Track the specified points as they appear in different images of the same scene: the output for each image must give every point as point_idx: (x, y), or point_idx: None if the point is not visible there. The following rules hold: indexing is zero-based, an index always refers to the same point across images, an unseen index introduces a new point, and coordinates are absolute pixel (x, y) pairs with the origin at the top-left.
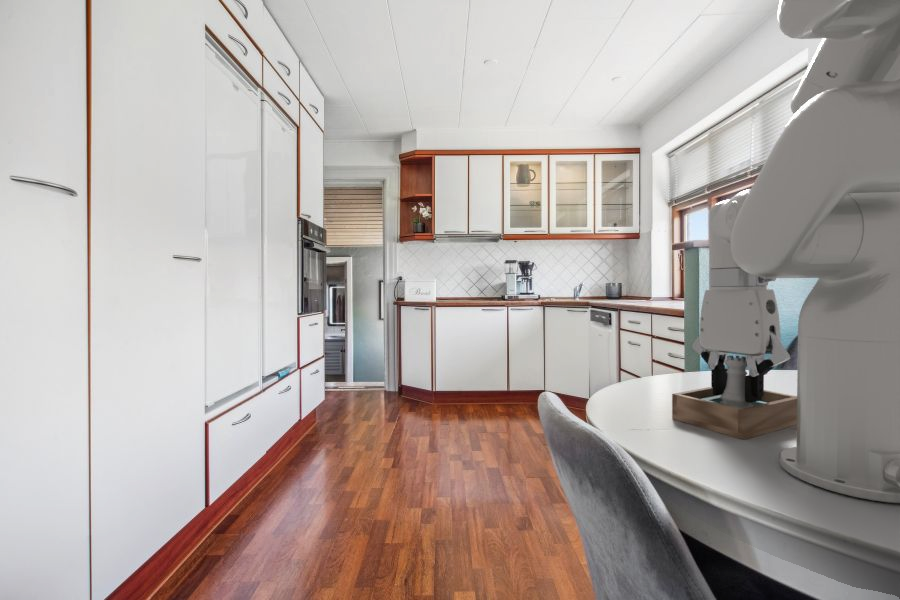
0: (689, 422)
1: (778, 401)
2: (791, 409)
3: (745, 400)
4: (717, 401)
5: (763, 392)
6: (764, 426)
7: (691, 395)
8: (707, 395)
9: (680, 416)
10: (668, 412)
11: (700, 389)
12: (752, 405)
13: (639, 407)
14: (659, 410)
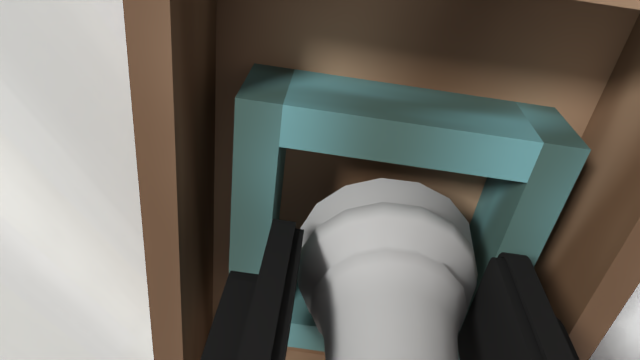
0: None
1: (633, 261)
2: None
3: (459, 339)
4: None
5: (564, 329)
6: None
7: (189, 350)
8: (192, 223)
9: None
10: (123, 272)
11: (162, 287)
12: (465, 233)
13: (8, 289)
14: (81, 272)
